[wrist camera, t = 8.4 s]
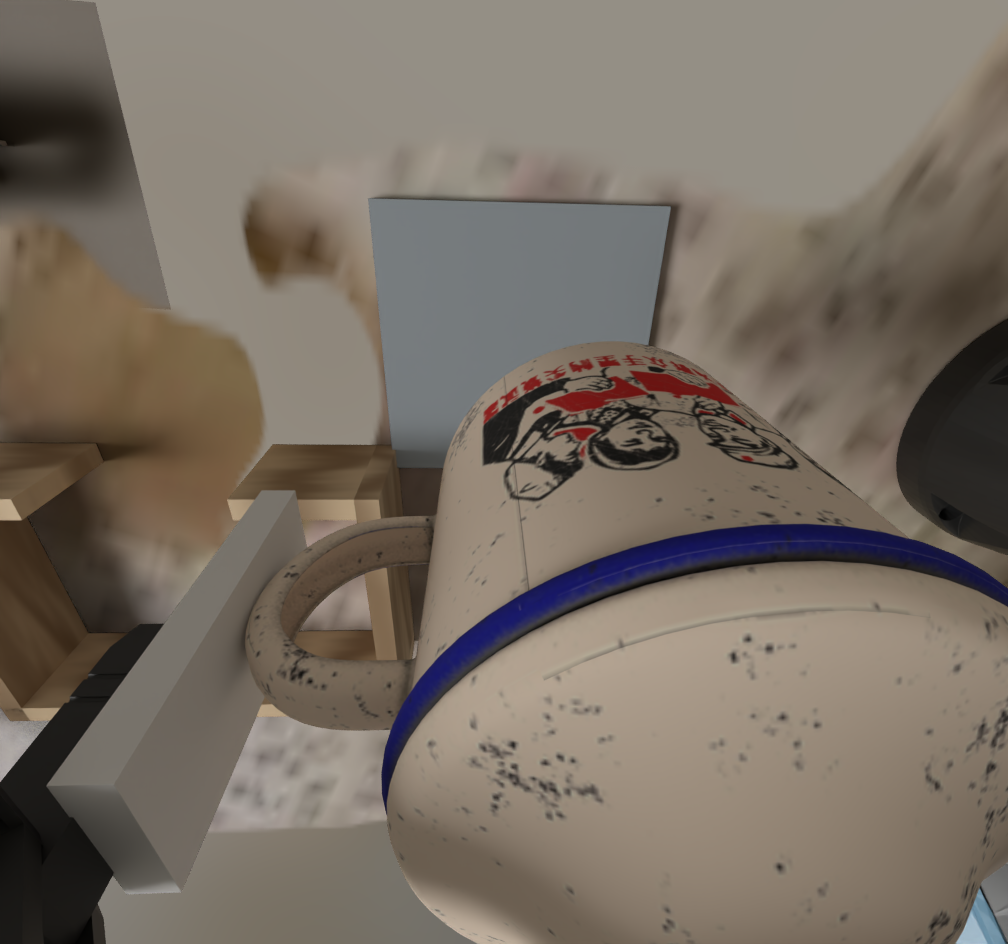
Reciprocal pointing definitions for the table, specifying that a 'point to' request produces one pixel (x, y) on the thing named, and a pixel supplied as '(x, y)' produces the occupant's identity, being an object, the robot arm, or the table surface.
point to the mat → (499, 298)
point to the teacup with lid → (665, 679)
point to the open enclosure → (304, 468)
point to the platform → (72, 141)
